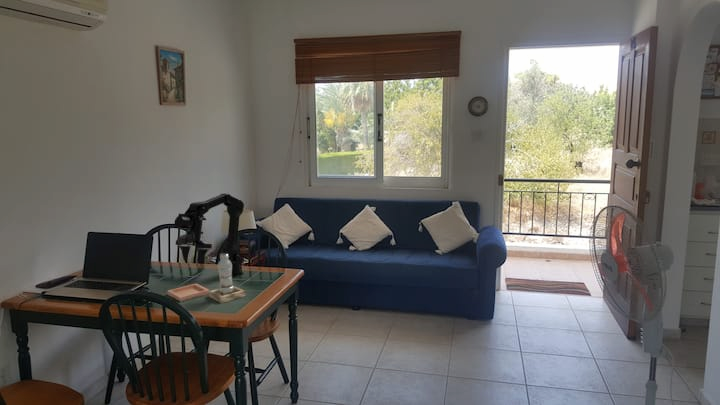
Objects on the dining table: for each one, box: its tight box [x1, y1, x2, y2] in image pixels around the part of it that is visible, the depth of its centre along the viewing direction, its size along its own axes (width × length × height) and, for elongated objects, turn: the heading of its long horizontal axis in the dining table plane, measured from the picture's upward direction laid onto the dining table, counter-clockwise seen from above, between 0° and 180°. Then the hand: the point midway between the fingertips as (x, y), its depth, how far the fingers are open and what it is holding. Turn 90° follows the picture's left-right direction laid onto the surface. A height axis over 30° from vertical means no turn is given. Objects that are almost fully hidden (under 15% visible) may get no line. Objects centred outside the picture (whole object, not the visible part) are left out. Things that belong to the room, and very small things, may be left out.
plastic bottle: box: [216, 252, 234, 296], centre depth 221 cm, size 6×7×20 cm
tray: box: [167, 283, 211, 303], centre depth 227 cm, size 14×14×2 cm
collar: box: [208, 285, 246, 304], centre depth 223 cm, size 12×12×2 cm
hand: (191, 262), depth 231 cm, fingers open, 9 cm apart
